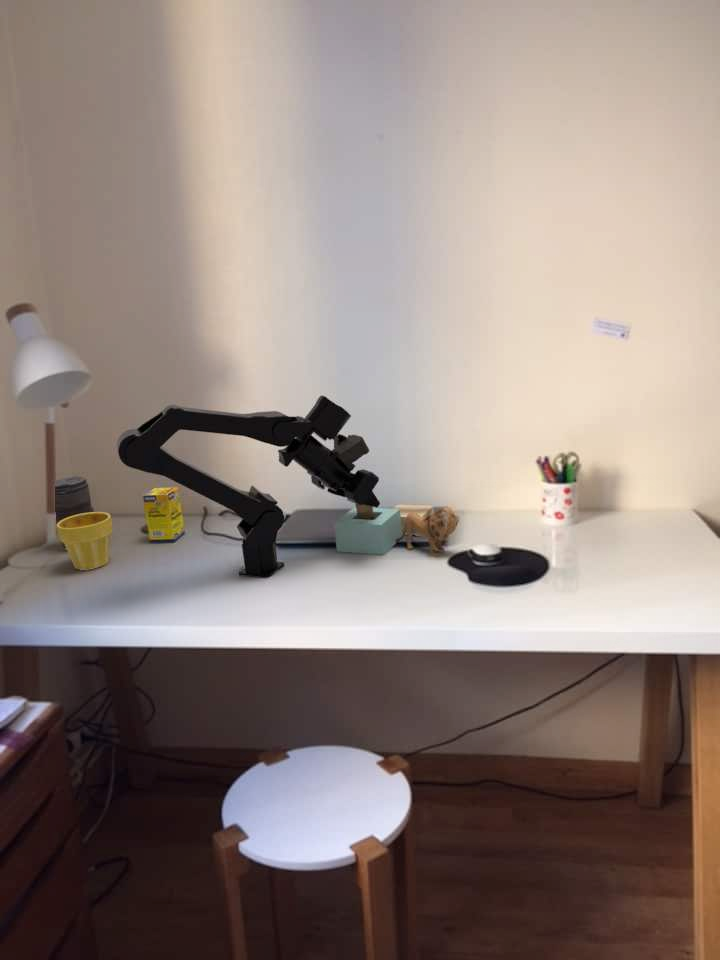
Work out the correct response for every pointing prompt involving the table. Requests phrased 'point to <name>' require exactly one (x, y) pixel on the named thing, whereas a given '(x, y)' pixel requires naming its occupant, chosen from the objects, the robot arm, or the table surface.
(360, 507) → the pin
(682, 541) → the table surface
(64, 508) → the camera lens
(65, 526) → the plant pot
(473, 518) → the table surface
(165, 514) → the supplement box
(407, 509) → the pedestal
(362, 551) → the socket block
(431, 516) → the lion figurine
